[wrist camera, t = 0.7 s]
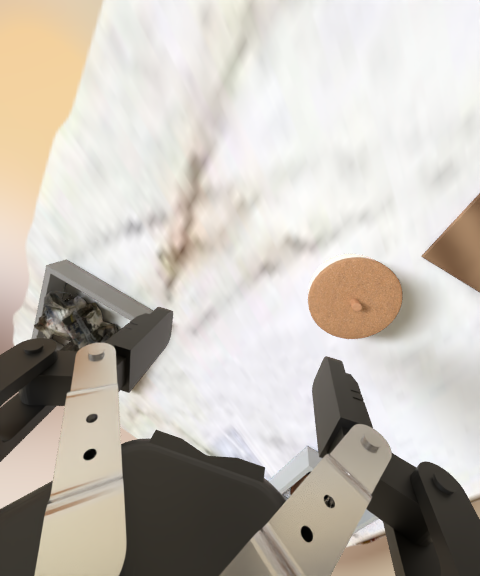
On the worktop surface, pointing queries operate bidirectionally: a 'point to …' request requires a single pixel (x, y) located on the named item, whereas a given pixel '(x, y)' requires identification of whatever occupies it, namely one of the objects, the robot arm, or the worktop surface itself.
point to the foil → (73, 322)
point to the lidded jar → (354, 296)
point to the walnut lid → (460, 247)
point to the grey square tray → (299, 469)
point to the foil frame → (89, 285)
